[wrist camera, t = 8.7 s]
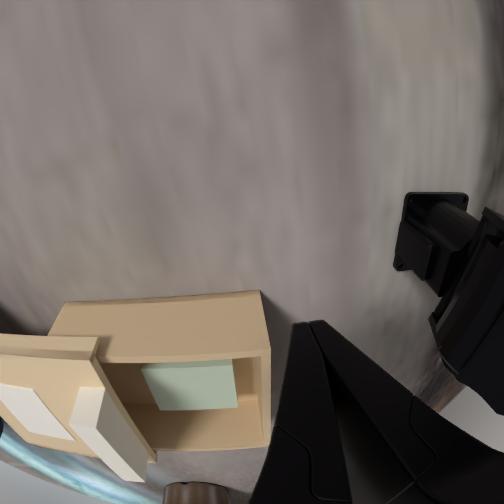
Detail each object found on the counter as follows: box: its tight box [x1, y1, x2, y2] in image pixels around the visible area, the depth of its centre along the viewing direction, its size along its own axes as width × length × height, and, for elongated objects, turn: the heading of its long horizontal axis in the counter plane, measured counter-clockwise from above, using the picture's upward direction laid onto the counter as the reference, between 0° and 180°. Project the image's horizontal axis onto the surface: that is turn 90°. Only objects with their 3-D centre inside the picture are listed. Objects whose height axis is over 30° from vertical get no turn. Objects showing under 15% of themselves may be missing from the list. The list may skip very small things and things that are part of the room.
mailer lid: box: [0, 334, 158, 482], centre depth 19 cm, size 16×16×5 cm
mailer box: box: [47, 290, 271, 451], centre depth 24 cm, size 16×14×6 cm
